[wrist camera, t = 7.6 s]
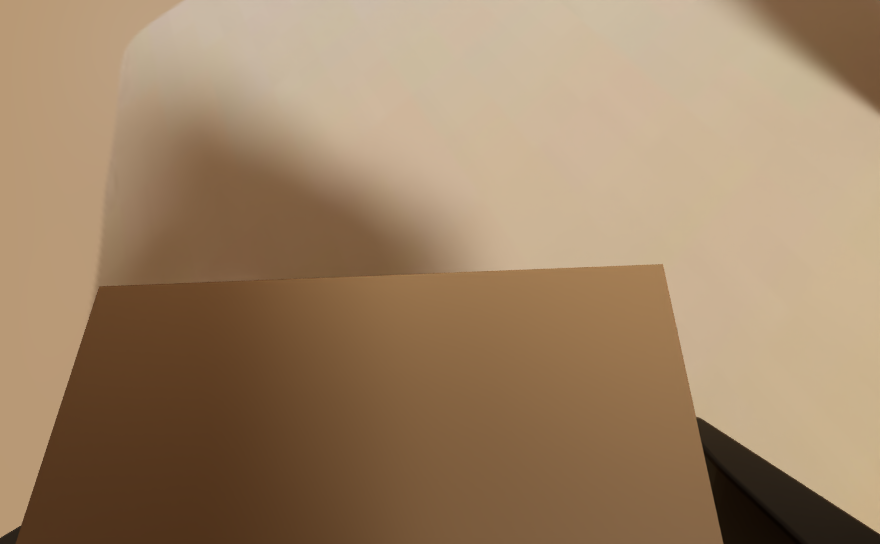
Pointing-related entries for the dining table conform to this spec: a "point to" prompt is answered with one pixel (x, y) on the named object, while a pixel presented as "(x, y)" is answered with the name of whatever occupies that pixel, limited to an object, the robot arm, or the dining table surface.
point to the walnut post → (379, 414)
